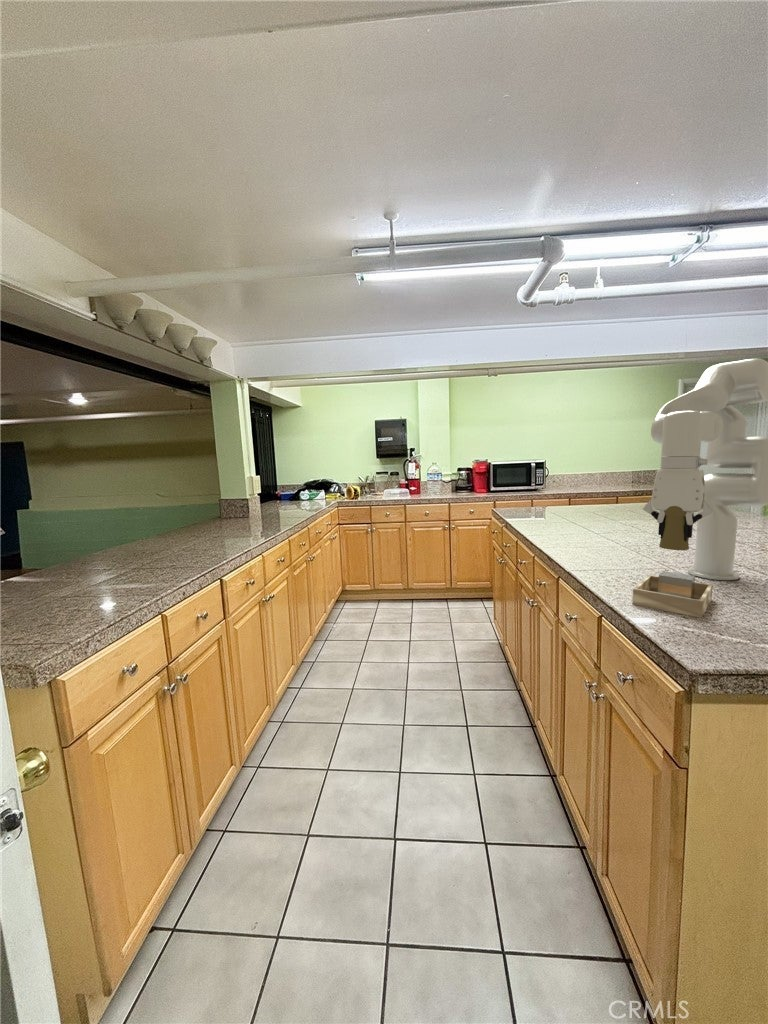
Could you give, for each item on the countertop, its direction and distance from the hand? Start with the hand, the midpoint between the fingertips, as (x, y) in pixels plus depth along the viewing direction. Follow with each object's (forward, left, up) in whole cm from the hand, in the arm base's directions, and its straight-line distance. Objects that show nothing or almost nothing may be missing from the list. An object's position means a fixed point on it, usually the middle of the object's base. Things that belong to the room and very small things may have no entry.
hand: (674, 538), depth 100 cm
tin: (-7, 0, -17) cm, 18 cm away
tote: (-3, 0, -17) cm, 18 cm away
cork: (0, 0, -2) cm, 2 cm away
